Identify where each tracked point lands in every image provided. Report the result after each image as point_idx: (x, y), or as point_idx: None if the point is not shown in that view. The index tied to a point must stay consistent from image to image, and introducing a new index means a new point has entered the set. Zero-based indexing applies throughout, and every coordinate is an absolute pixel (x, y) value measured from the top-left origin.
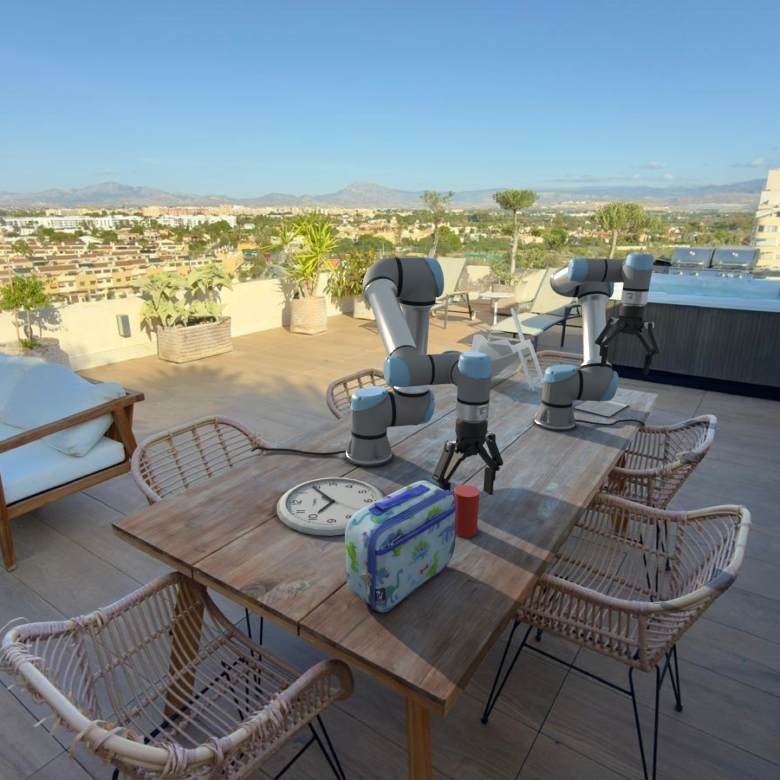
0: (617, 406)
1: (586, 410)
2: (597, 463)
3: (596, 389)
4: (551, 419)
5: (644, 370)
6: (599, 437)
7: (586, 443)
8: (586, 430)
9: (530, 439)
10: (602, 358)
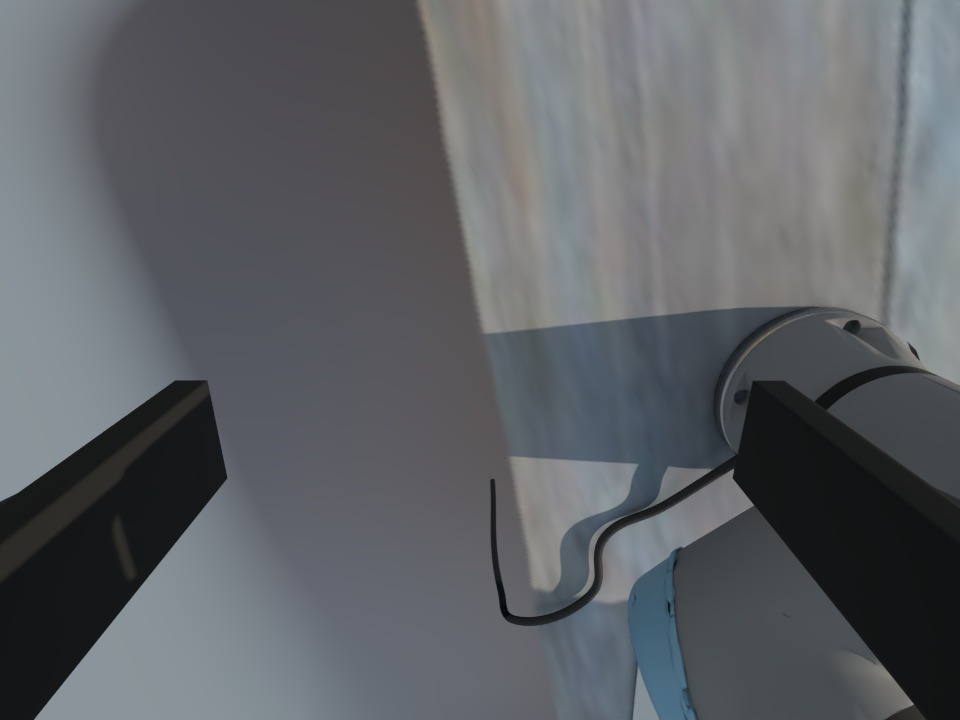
0: (654, 715)
1: None
2: (482, 105)
3: (728, 561)
4: (829, 333)
5: (154, 409)
6: (591, 392)
7: (608, 289)
8: (662, 425)
9: (839, 130)
10: (852, 441)
